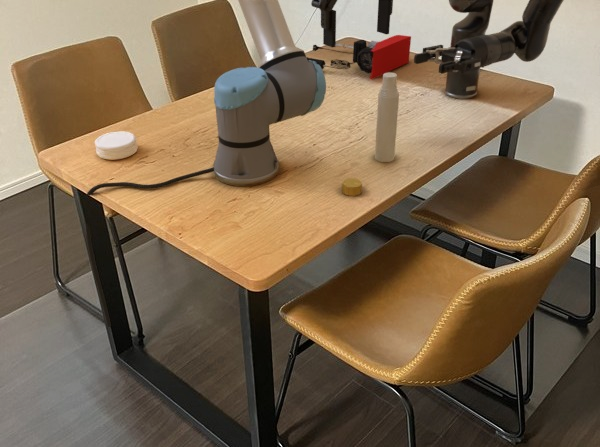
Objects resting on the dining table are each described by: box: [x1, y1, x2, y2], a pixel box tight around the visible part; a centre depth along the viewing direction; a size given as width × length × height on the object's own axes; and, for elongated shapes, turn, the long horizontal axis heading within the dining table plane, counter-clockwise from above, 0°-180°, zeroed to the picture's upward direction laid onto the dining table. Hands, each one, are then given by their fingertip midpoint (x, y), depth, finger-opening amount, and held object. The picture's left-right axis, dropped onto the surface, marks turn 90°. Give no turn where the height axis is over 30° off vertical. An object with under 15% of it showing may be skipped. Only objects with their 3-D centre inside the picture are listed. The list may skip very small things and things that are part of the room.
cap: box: [341, 177, 363, 197], centre depth 137 cm, size 4×4×2 cm
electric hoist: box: [306, 34, 412, 80], centre depth 208 cm, size 10×27×30 cm
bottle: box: [374, 72, 400, 163], centre depth 145 cm, size 5×5×21 cm
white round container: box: [94, 130, 139, 161], centre depth 154 cm, size 10×10×4 cm
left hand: (356, 39), depth 119 cm, fingers open, 13 cm apart
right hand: (427, 64), depth 144 cm, fingers open, 8 cm apart
